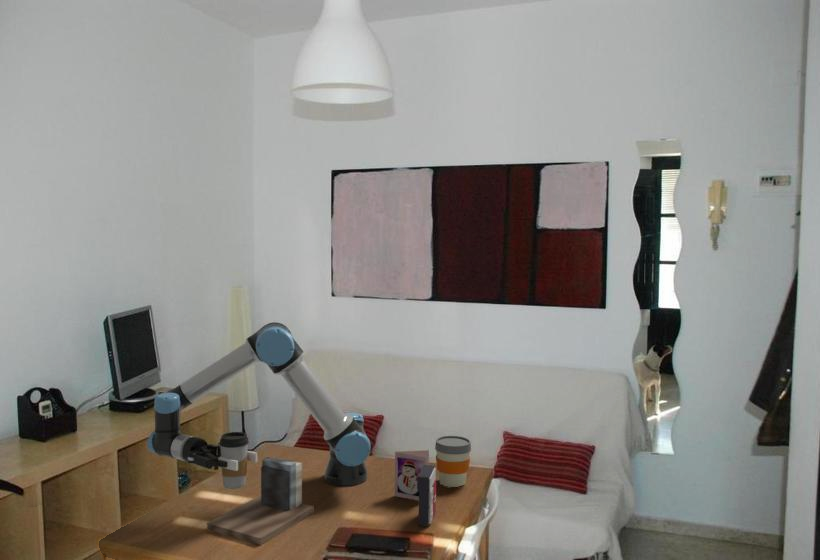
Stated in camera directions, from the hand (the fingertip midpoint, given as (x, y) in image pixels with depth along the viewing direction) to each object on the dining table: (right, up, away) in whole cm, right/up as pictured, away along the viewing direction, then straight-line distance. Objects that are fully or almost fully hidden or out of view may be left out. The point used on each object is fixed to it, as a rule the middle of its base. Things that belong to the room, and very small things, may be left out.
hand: (247, 461), depth 195 cm
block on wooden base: (+3, -19, +6) cm, 20 cm away
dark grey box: (+53, -20, +9) cm, 57 cm away
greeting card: (+49, -19, +27) cm, 59 cm away
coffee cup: (-4, -8, +3) cm, 10 cm away
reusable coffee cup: (+62, -18, +39) cm, 76 cm away
